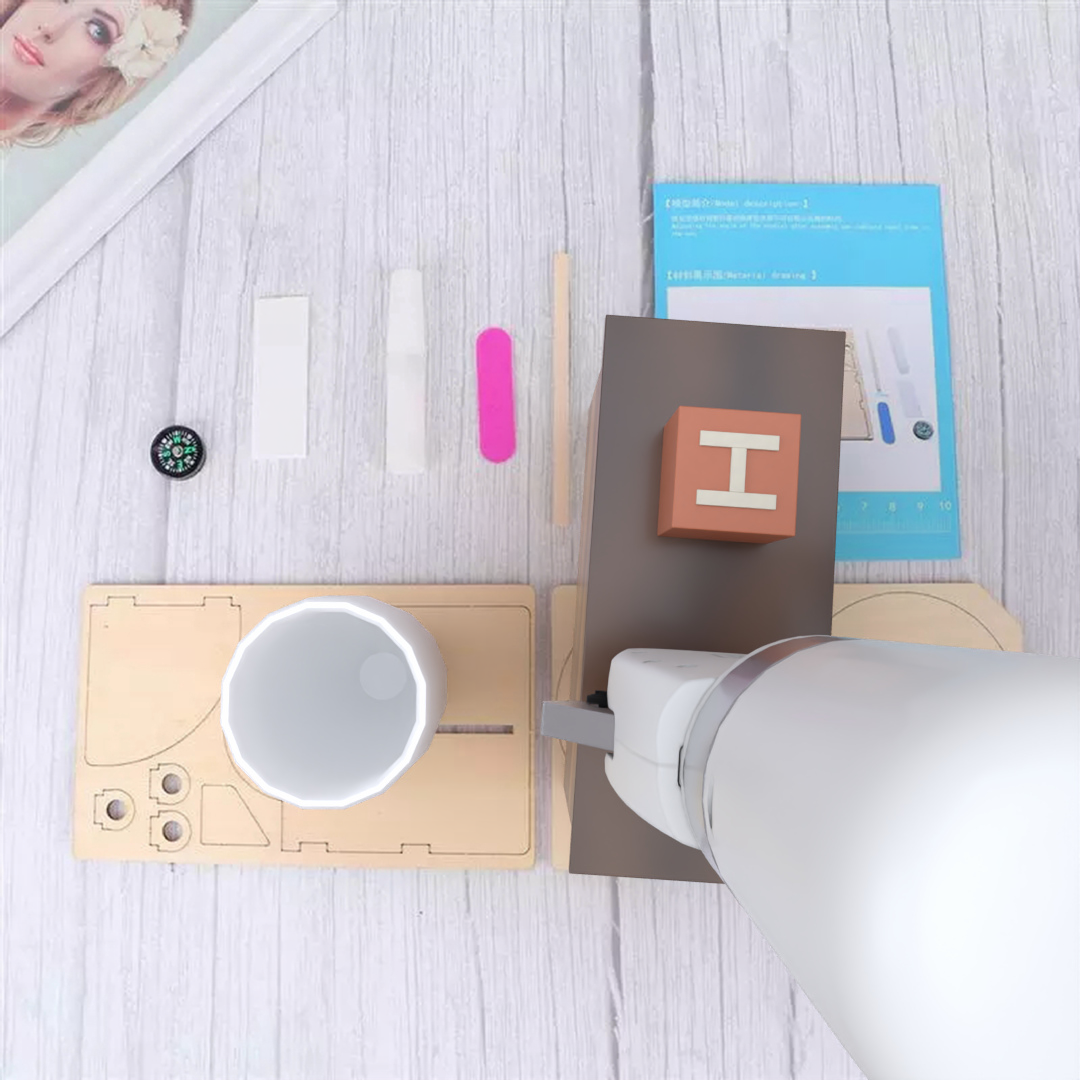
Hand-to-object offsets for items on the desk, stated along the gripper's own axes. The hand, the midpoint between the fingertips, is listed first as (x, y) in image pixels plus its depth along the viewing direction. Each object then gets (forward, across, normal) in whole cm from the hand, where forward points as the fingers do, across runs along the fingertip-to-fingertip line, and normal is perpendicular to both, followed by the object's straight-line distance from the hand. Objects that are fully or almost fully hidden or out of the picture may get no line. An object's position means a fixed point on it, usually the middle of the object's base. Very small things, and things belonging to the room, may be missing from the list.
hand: (704, 710), depth 42 cm
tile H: (0, 0, -10) cm, 10 cm away
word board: (+1, 0, -5) cm, 5 cm away
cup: (+23, +17, +1) cm, 29 cm away
